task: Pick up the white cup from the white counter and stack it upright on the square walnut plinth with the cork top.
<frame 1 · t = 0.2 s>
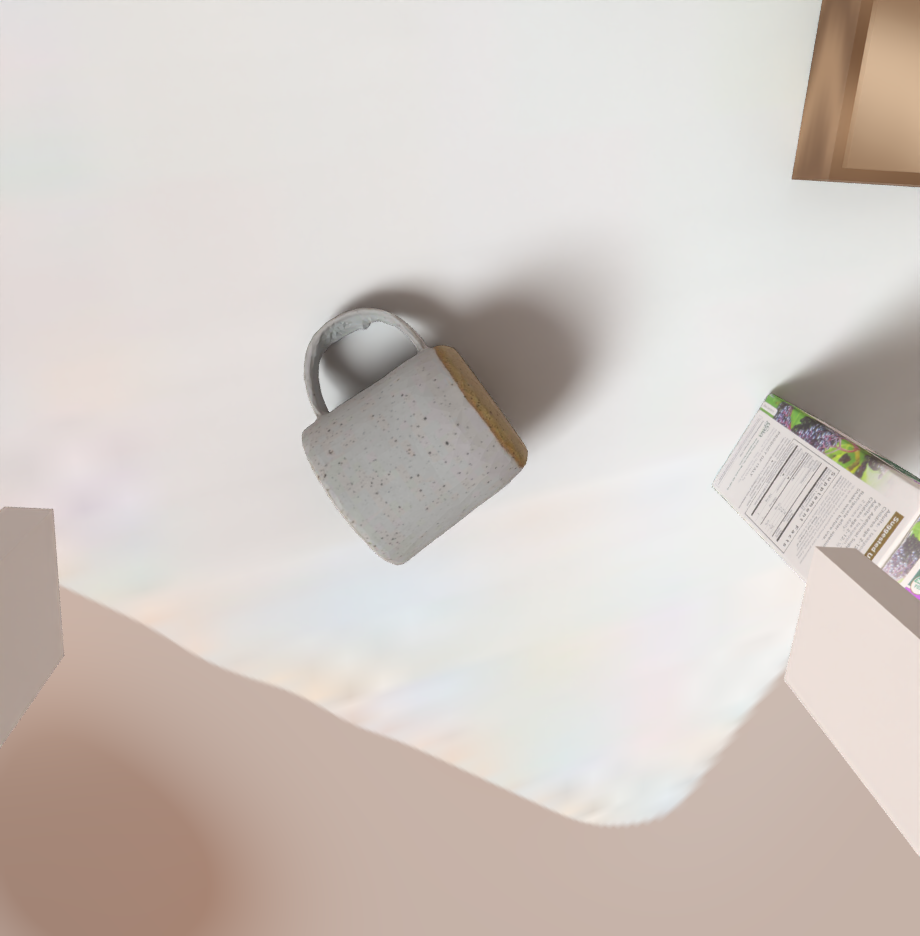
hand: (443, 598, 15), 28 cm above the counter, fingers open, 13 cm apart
ceramic mug: (396, 409, 43), on the counter
syrup box: (778, 462, 45), on the counter
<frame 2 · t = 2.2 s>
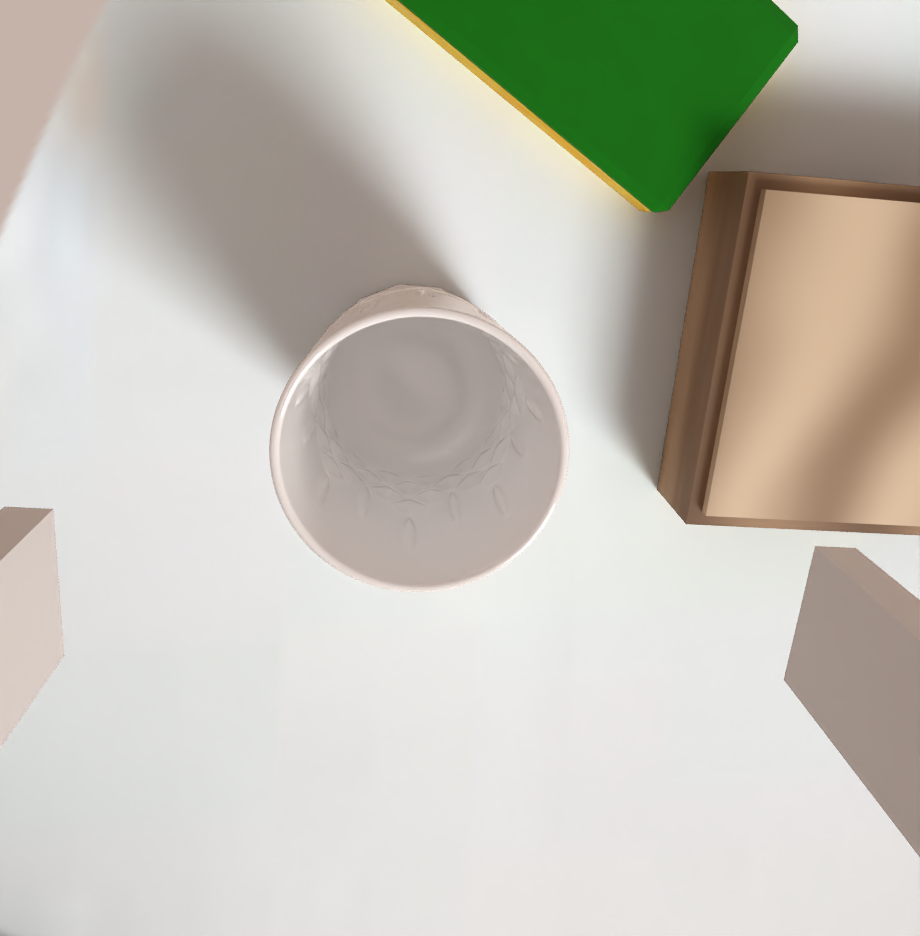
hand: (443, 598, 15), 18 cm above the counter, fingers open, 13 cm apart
dish sponge: (555, 0, 29), on the counter
white cup: (412, 373, 32), on the counter
walnut plinth: (833, 350, 33), on the counter
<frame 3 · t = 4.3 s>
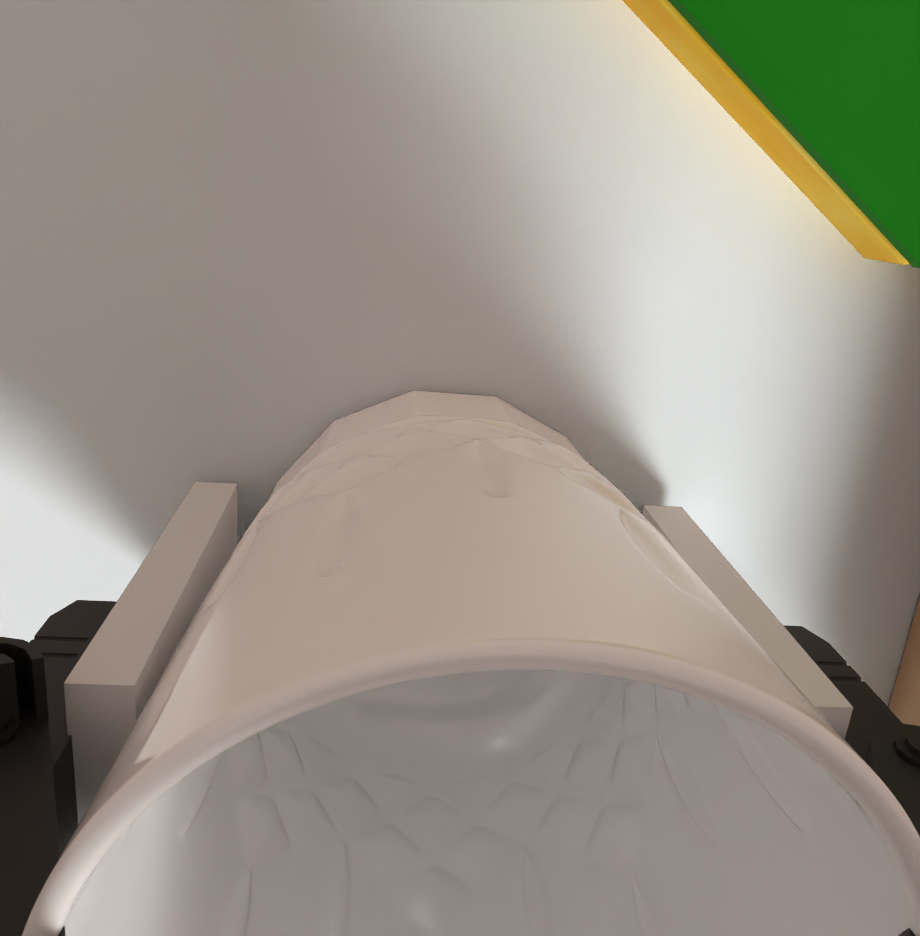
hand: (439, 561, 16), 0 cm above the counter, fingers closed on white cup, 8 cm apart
white cup: (437, 552, 17), on the counter, touching gripper
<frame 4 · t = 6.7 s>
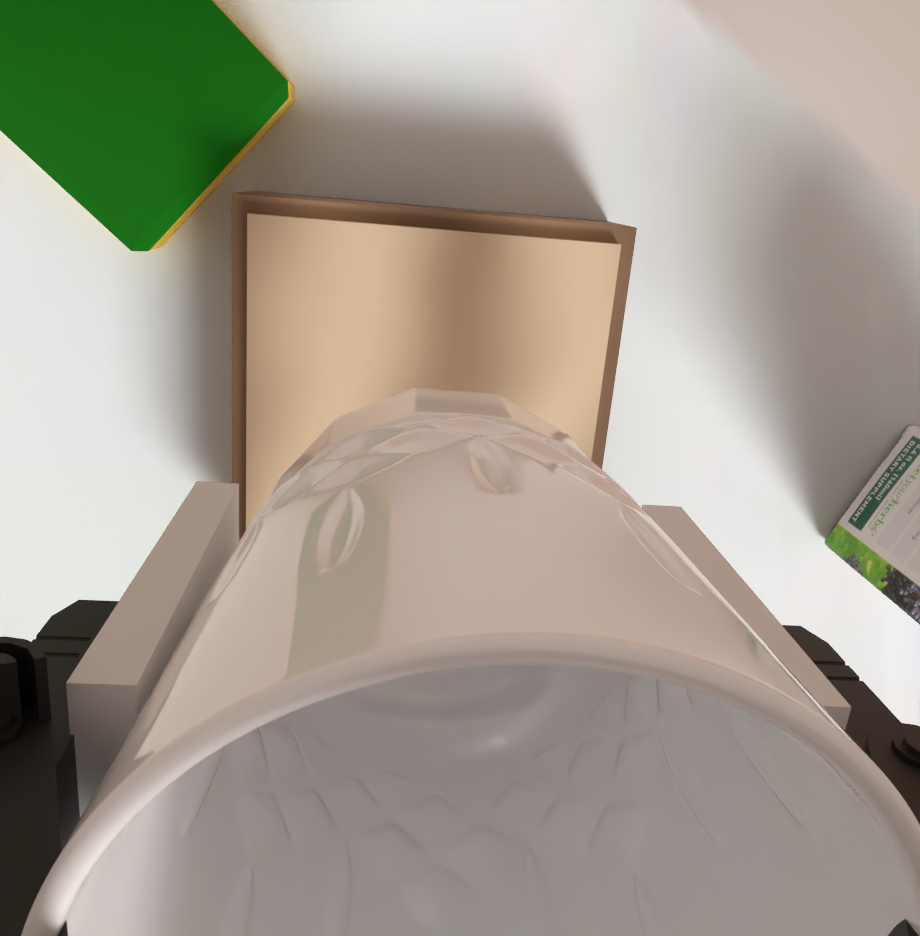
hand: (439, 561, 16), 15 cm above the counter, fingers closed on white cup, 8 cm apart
dish sponge: (59, 5, 27), on the counter
white cup: (439, 549, 17), point 15 cm above the counter, touching gripper
walnut plinth: (421, 381, 31), on the counter
syrup box: (916, 511, 34), on the counter
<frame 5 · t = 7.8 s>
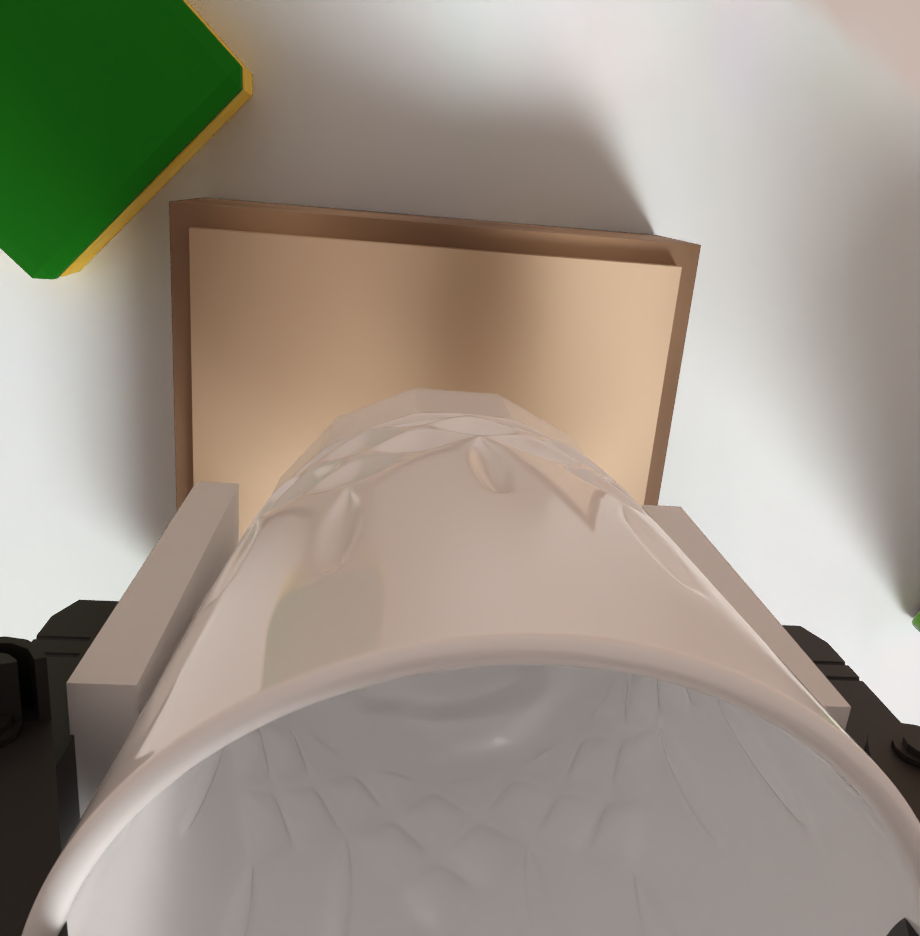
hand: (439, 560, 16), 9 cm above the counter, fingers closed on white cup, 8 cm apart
white cup: (439, 549, 17), point 8 cm above the counter, touching gripper
walnut plinth: (420, 433, 25), on the counter
when the fingers open (5 cm above the counter, at t = 8.9 s): white cup moves 1 cm, resting on walnut plinth.
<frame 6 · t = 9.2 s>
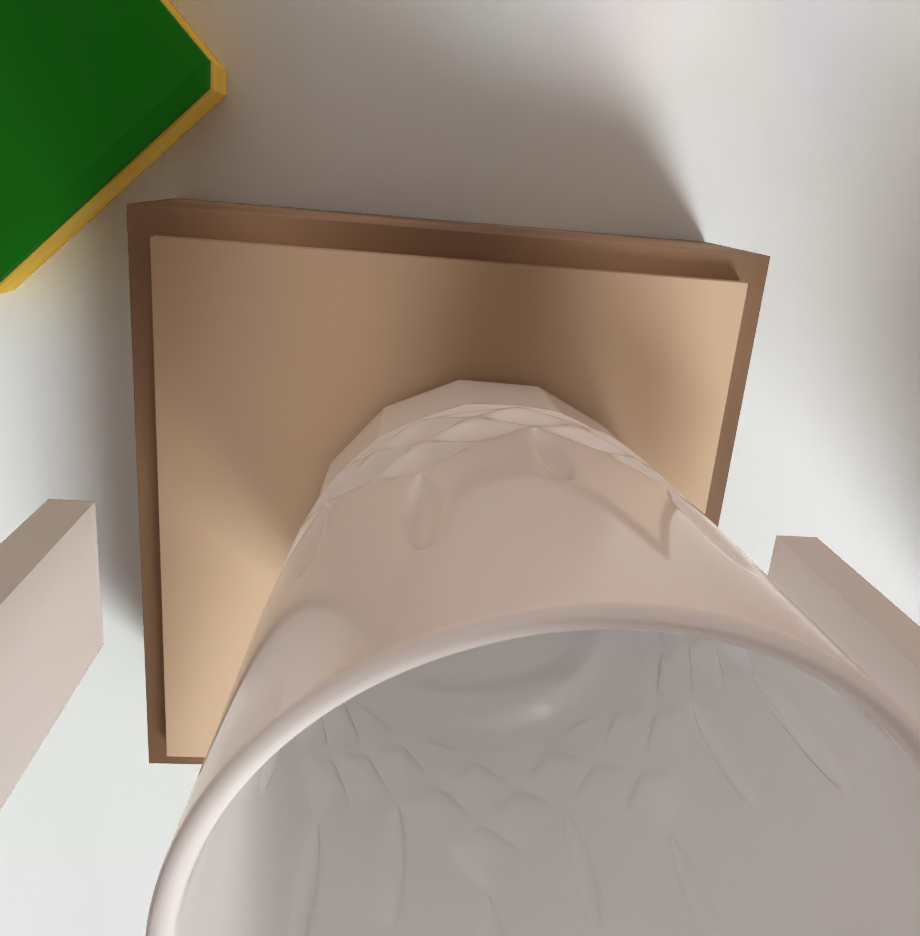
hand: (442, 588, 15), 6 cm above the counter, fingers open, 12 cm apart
white cup: (477, 533, 18), point 4 cm above the counter, touching walnut plinth
walnut plinth: (429, 472, 21), on the counter
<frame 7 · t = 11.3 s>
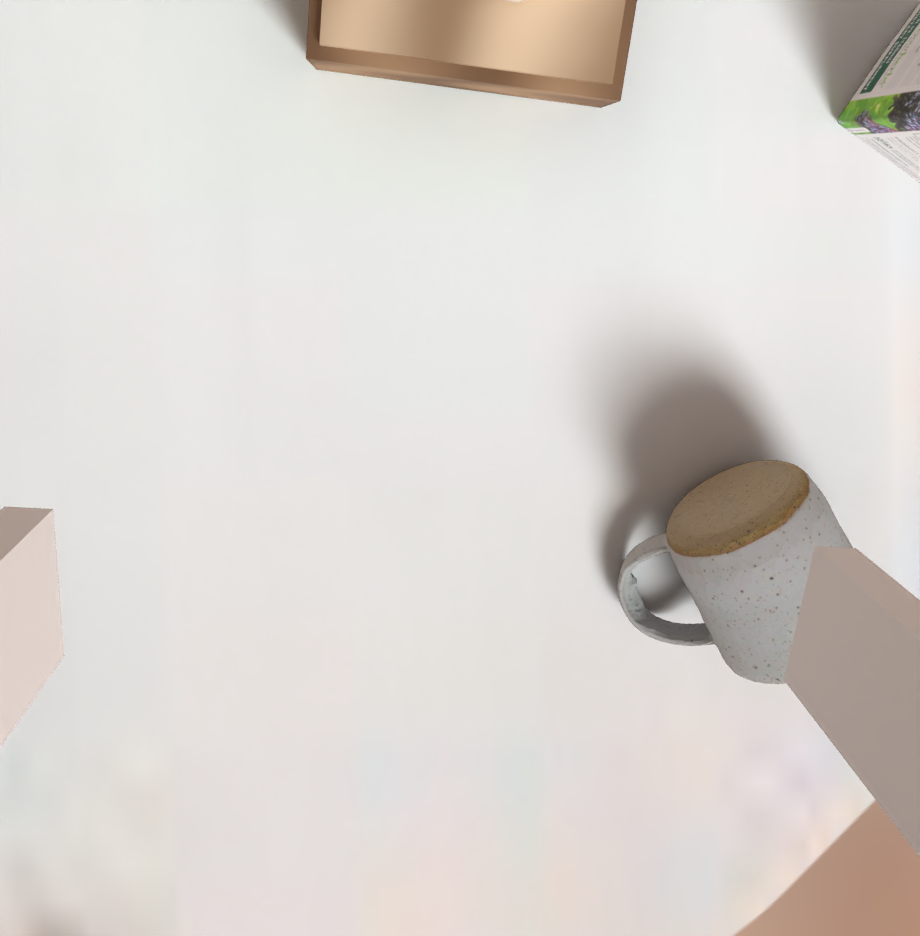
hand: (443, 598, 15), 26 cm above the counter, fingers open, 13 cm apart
ceramic mug: (715, 550, 44), on the counter
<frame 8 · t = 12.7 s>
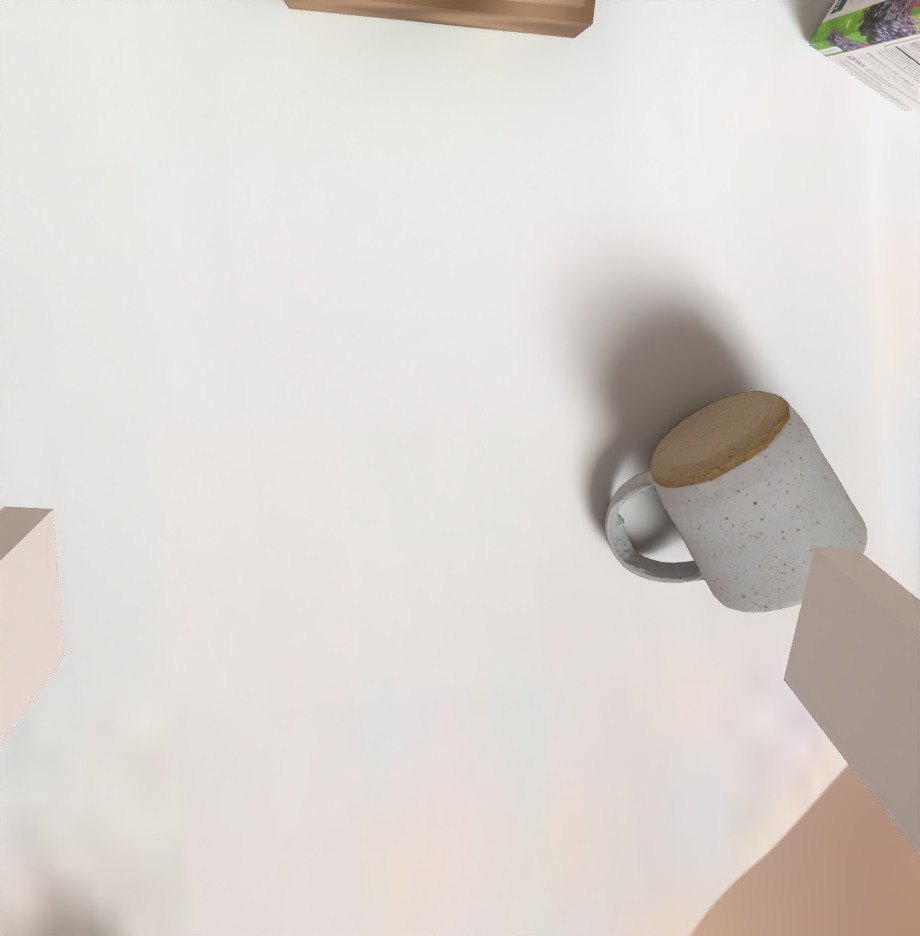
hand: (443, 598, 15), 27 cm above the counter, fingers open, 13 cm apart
ceramic mug: (700, 488, 44), on the counter
syrup box: (893, 20, 37), on the counter
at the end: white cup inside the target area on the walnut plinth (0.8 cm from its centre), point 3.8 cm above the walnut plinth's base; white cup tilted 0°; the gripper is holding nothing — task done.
